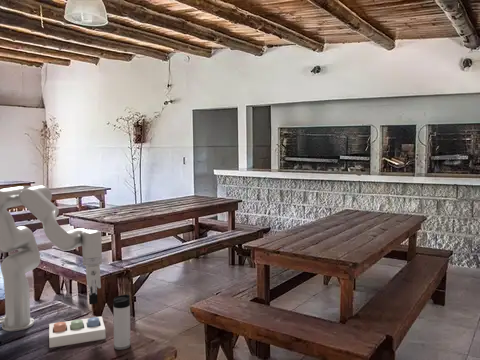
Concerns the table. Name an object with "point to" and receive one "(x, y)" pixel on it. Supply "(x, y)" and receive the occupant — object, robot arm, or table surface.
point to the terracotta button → (59, 327)
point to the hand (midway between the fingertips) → (93, 303)
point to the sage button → (76, 324)
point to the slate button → (93, 322)
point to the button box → (76, 334)
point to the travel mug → (122, 322)
